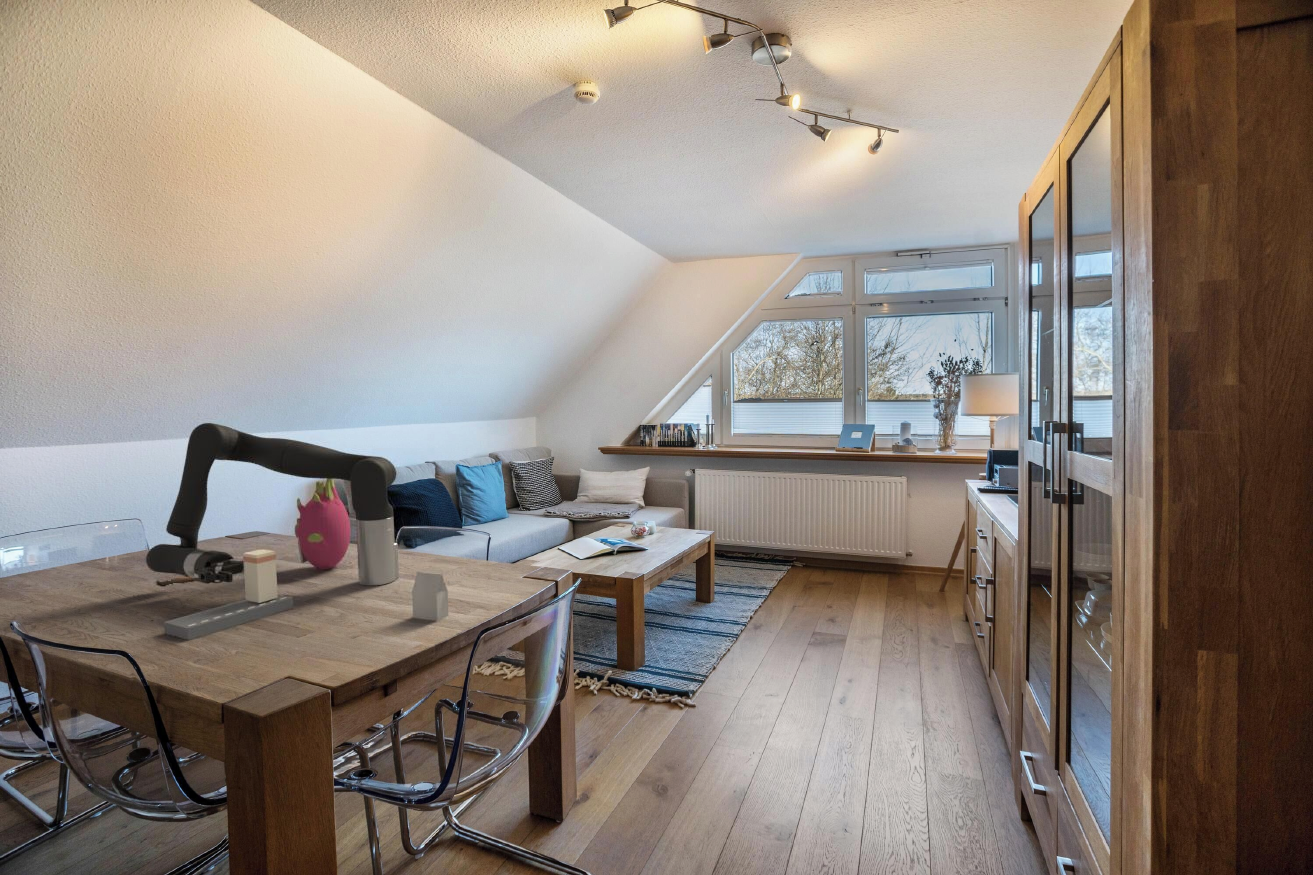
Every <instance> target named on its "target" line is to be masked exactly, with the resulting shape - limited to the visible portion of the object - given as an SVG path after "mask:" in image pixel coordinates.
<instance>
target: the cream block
mask: <svg viewBox="0 0 1313 875" xmlns="http://www.w3.org/2000/svg"><path fill="white" fill-rule="evenodd" d="M242 555H243V556H242V560H243V561H244V569H243V571H244V589H245V599H246V600H248V601H252V602H257V603H261V602H264V601H268V600H271V599H275V598H278V595H279V594H278V583H277V582H278V579H277V563H276V559H277V558H276V557H277V556H276V551H275V550H269V549H264V548H263V549H256V550H251V551H247V552H243V554H242Z"/></svg>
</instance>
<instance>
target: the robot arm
mask: <svg viewBox="0 0 1313 875" xmlns="http://www.w3.org/2000/svg"><path fill="white" fill-rule="evenodd" d="M216 460H217V461H229V462H230V461H232V462H233V461H234V462H242V463H247V464H254V465H257V466H260V467H263V468H265V469H267V470H270V471H274V472H276V473H279V474H284V475H289V476H292V477H297V478H304V479H305V478H307V479H320V480H321V479H326V480H327V479H333V480H343V481H347V482H350V484H349V485H350V495H351V505H352V510H353V511H354V512H355V526H356V548H357V571H358V574H357V575H358V584H359V585H361V586H379V585H381V586H382V585H385V584H389V583H393V582H394V581H396V580H397V579H400V572H399V570H400V569H399V546H398V543H397V542H395V526H394V525H395V524H394V507H393V506H392V504H390V502H389V499H388V488H389V487H390V486H391V485H392V484H393V483H394V482H395V480H396V479H397V470H396V467H395V465H394V464H393V463H392V462H391V461H390V460H389V459H387V458H385V457H383V456H375V455H364V454H354V453H348V452H344V451H339V450H336V449H334V448H330V447H326V446H320V445H317V444H313V443H310V442H309V443H308V442H304V441H300V440H295V439H289V438H288V439H287V438H281V437H280V438H278V437H262V436H257V435H253V434H250V433H247V432H243V431H240V430H238V429H234V428H232V427H229V426H226V425H222V424H218V423H212V422H205V423H201V424H199V425H197V426H196V427H195V428H193V429H192V431H191V434H190V435H189V439H188V443H187V449H186V454H185V461H184V464H183V470H182V474H181V475H182V476H181V480H180V485H179V489H178V493H177V497H176V500H175V503H174V506H173V508H172V511H171V513H170V515H169V516H170V517H169V519H168V522H167V525H166V529H165V531H166V532H167V534H169V535H170V536H174V537H177V538H179V539H180V543H179V544H167V543H159V544H156V545H154V546H153V547H151V549H149V551H148V552H147V553H146V556H145V563H146V565H147V567H148V568H149V569H150V570H151V571H152V572H156V573H163V574H172V575H173V574H176V575H181V576H183V577H186V576H187V577H186V578H188V577H192V578H194V579H195V581H194V582H199V583H203V584H207V585H208V584H221V583H227V584H229V583H232V582H233V578H234V577H236V576H243V575H244V569H243V568H244V561H243V559H237V558H234V557H233V556H232V555H231V554H230V553H228V552H224V551H219V550H213V549H200V548H198V541H199V531H200V528H201V525H202V523H203V520H204V518H205V514H206V511H207V506H208V481H209V480H208V479H209V476H210V472H211V468H212V466H213V464H214V463H215V461H216Z"/></svg>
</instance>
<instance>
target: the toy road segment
mask: <svg viewBox="0 0 1313 875" xmlns="http://www.w3.org/2000/svg"><path fill="white" fill-rule="evenodd" d="M277 595H278V598H275V599H271V600H268V601H264V602H261V603H257V602H252V601H248V600H246V598H245V599H242V600H239V601H234V602H231V603H228V604H223V605H221V606H216V607H213V608H210V609H205V610H203V611H198V612H196V613H191V614H188V615H185V616H181V617H177V618H174V619H169V620H167V621H164V622H163V629H164V630H163V632H164V635H168V636H171V635H172V636H171V637H175V636H177V637H176V638H178V637H180V638H179V639H182V638H183V639H182V640H186V639H188V640H187V641H190V640H189V639H191V640H194V639H198V638H200V637H204V636H207V635H210V634H215V633H217V632H220V631H223V630H226V629H230V628H233V627H237V626H239V625H242V624H243V625H244V624H246V623H248V622H249V623H250V622H253V621H256V620H259V619H262V618H265V617H269V616H271V615H272V616H273V615H275V614H279V613H282V612H285V611H288V610H291V609H294V599H293V597H291V596H286V595H281V594H277Z"/></svg>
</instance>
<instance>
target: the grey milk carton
mask: <svg viewBox="0 0 1313 875" xmlns="http://www.w3.org/2000/svg"><path fill="white" fill-rule="evenodd" d="M412 587H413V588H412V591H411V596H412V598H411V602H412V618H413V619H418V620H419V619H421V620H427V621H428V620H429V621H435V622H438V621H441V620H443V619H445V618H447V617H449V597H448V596H449V594H448V593H449V592H448V588H447V586H446V582H445V581H444V577H443V573H436V572H427V571H416V577H415V580H414V584H413V586H412ZM442 618H443V619H442Z"/></svg>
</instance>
